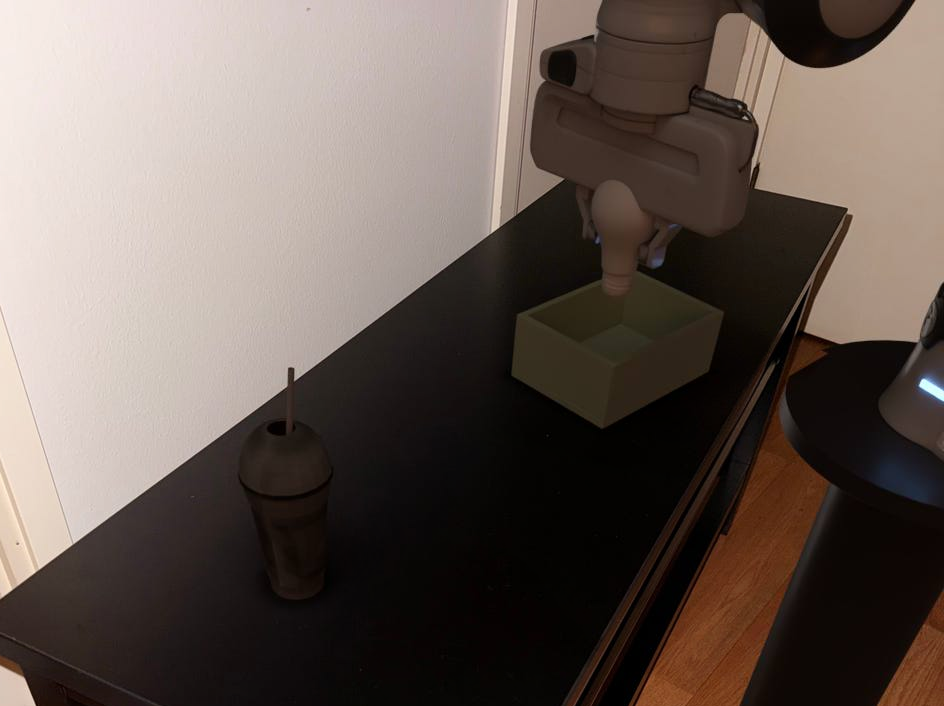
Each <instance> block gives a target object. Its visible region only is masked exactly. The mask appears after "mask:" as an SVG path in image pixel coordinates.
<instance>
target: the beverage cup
mask: <svg viewBox="0 0 944 706" xmlns="http://www.w3.org/2000/svg"><path fill="white" fill-rule="evenodd" d="M295 370H296V369H295V367H293V366H289V367H287V381H286V383H287V385H286V387H287V389H286V418H284V417H283V418H282V417H279V418H273V419H270V420H266V421H264V422H263V423H261V424H259V425H257V427H256V428H253V430H252V431H251V432H250V434H248V436H247V437H246V439H245V440H244V442H243V444H242V446H241V450H240V454H239V459H238V470H237V478H238V481H239V484H240V486H241V487H242V490H243V492H244V495H245V498H246V501H247V502H248V504H249V507H250V510H251V513H252V518H253V522H254V526H255V530H256V534H257V537H258V542H259V545H260V550H261V553H262V554H261V555H262V558H263V561H264V565H265V570H266V573H267V576H268V578H269V580H270V585H271V588H272V590H273V592H275V594H276V595H278V596H279V597H281V598H283V599H287V600H292V601H293V600H295V601H297V600H298V601H299V600H300V601H301V600H304V599H305V600H306V599H309V598H311V597H313V596H315V595H317V594H318V593H319V592H320V591H321V590H322V588H323V587H324V585H325V572H326V564H327V563H326V562H327V561H326V560H327V535H328V534H327V533H328V532H327V531H328V503H329V497H330V492H331V486H332V479H333V477H334V466H333V463H332V461H331V455H330V454H329V451H328V450H329V449H327V447H326V444H325V442H324V440H323V438H322V437H321V436H320V434H319V433H317V432H316V431H315V430H314V429H313V428H311V426H309V425H308V424H305V423H304V422H303V421H302V422H301V421H300V420H297V419H294V405H295V403H294V401H295V372H296V371H295Z"/></svg>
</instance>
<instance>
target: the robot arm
mask: <svg viewBox="0 0 944 706" xmlns="http://www.w3.org/2000/svg"><path fill="white" fill-rule="evenodd" d="M916 1H917V0H601V3H600V6H599V8H598V11H597V14H596V17H595V18H596V19H595V27H594V34H590V35H585V36H582V37H581V38H577V39H572V40H569V41H566V42H562V43H559V44H556V45H552V46H550V47H547V48H544V49H543V50H542V51H541V52H540V56H539V62H538V63H539V65H538V67H539V75H540V77H541V79H542V80H544V81H543V82H542V83H541V84H540V85H539V86H538V88H537V90H536V93H535V97H534V101H533V109H532V117H531V125H530V139H529V153H530V155H531V158H532V160H533V163H534V165H535V167H536V168H537V169H539V170H541V171H543V172H546V173H549V174H550V175H554V176H556V177H558V178H561V179H564V180H566V181H569V182H571V183H574V184H576V187H575V199H576V201H577V205H578V208H579V211H580V214H581V218H582V220H583V224H582V234H581V238H582V239H583V240H585V241H587V242H590V243H592V244H594V245H598V244H599V243H600V239H599V236H598V234H597V231H596V229H595V226H594V223H593V219H592V213H591V205H592V199H593V196H594V193H595V191H596V189H597V188H598V187H599V186H600V185H601V184H602V183H604V182H606V181H607V180H616V181H620V182H622V183H623V184H625V185H626V186H627V187H628V188H629V189H630V191H631V192H632V194H633V196H634V198H635V200H636V202H637V204H638V206H639V208H640V209H641V210H642V211H645V212H647V213H650V214H652V215H655V216H656V218H655V224H654V228H655V229H657V231H658V232H657V233H656V235H655V236H654V237H653V238H651V239H650V240H649V241H648V242H644V243H642V244H640V249H639V253H640V256H639V257H638V264H640V265H642V266H645V267H647V268H648V269H651V270H654V269H656V268H659V267H661V266H662V265H663V263H664V262H665V257H666V251H667V247H668V245H669V244H670V243H671V242H672V240H674V239H675V237H676V236H677V235H678V233H679V232H680V231H681V230H682V229H683V228H685V229H687V230H690V231H692V232H694V233H696V234H699V235H702V236H704V237H707V238H714V237H717V236H719V235H722V234H724V233H726V232H728V231H730V230H732V229H733V228H735V227H736V226H738V224H740V222H741V221H742V220H743V218H744V217H745V213H746V210H747V203H748V199H749V191H750V186H751V185H750V183H751V176H752V167H753V159H754V157H755V152H756V148H757V144H758V140H759V135H760V127H759V123H757V119H756V118H755V116H754V114H753V113H752V112H751V111H750V110H748V108H749V107H748V104H747V103H746V102H744V101H743V100H740V99H738V98H732V97H731V98H729V97H726V96H723V95H721V94H719V93H717V92H715V91H713V90H709V89H706V87H707V86H706V85H707V79H708V76H709V70H710V65H711V60H712V54H713V51H714V44H715V40H716V34H717V28H718V25H719V22H720V20H721V19H722V18H723V17H724V16H726V15H729V14H743V15H745V16H746V17H747V18H748V19H749V20H750V21H752V22H753V23H754V24H756V25H757V26H758V27H759V28H761V29H762V31H763V32H764V33H765V35H766V36H767V37H768V38H769V40H770V41H771V42H772V44H773V45H774V46H775V47H776V49H777V50H778V51H779V52H780V54H782V55H783V56H784V57H785V58H786V59H788V60H789V61H791V62H793V63H795V64H796V65H798V66H802V67H805V68H809V69H828V68H829V69H830V68H835V67H839V66H843V65H846V64H849V63H851V62H853V61H855V60H857V59H859V58H861V57H863V56H865V55H866V54H868V53H870V52H871V51H872V50H873V49H875V48H876V47H877V46H879V45H880V44H881V43H882V42H883V41H884V40H886V39H887V38H888V37H889V35H890V34H892V32H893V31H895V29H896V28H897V27H898V26H899V24H901V22H902V21H903V20H904V18H905V17H906V15H907V14H908V12H909V11H910V10H911V8H912V7H913V5H914V4H915V2H916ZM744 117H745V118H746V119H745V118H744ZM916 342H917V344H916V346H915V348H914V350H913V351H912V353H911V355H910V356H909V358H908V360H907V361H906V363H905V365H904V366H903V368H902V369H901V371H900V372H899V374H898V375H897V376H896V378H895V379H894V381H893V382H892V383H891V385H890V386H889V387H888V388H887V389H886V390H885V392H884V393H883V394H882V395H881V396H880V398H879V402H878V408H879V411H880V414H881V416H882V417H883V419H884V420H885V421H886V422H887V424H888V425H889V426H891V427H892V428H893V429H894V430H895V431H896V432H898V433H899V434H901V435H902V436H904V437H905V438H907V439H909V440H911V441H913V442H915V443H917V444H919V445H921V446H923V447H925V448H927V449H928V450H930V451H931V452H932V453H934V454H935V455H936V456H937V457H938V458H940V459H941V460H942V461H944V281H943V282H942V283H941V284H940V285H939V288H938V290H937V291H936V294H935V296H934V298H933V300H932V301H931V303H930V305H929V307H928V309H927V311H926V314H925V316H924V319H923V322H922V324H921V327H920V331H919V338H918V340H917V341H916Z"/></svg>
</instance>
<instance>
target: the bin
mask: <svg viewBox="0 0 944 706" xmlns="http://www.w3.org/2000/svg"><path fill="white" fill-rule="evenodd" d="M724 315H725V311H723V310H721V309H719V308H717V307H715V306H713V305H710V304H709V303H706V302H704V301H702V300H700V299H698V298H695V297H693V296H691V295H689V294H687V293H685V292H683V291H682V290H678V289H677V288H675V287H673V286H670V285H669V284H666V283H664V282H661V281H660V280H657V279H655V278H653V277H651V276H649V275H648V274H645V273H642V272H641V271H638V270H636V271H635V272H634V273H633V278H632V282H631V287H630V291H629V293H628V294H627V295H625V296H622V297H620V298H619V299H612V298H610V297H609V296H608V295H606V294H605V293H604V292H603V291H602V278H601V279H598V280H596V281H594V282H590V283H589V284H586V285H584V286H581V287H579V288H577V289H575V290H572V291H569V292H566V293H565V294H562V295H560V296H558V297H555V298H552V299H551V300H548V301H546V302H544V303H541V304H539V305H537V306H534V307H531V308H529V309H526V310H525V311H523V312H519V313H517V314H516V321H515V331H514V332H515V333H514V343H513V354H512V362H511V363H512V364H511V376H512V377H513V378H514V379H517V380H518V381H520V382H521V383H523V384H524V385H527V386H528V387H530V388H532V389H534V390H535V391H537V392H539V394H541V395H544V396H545V397H547V398H549V399H551V400H552V401H554V402H555V403H557V404H559V405H560V406H562V407H564V408H566V410H569V411H570V412H573V413H574V414H575V415H578V416H579V417H581V418H582V419H584V420H586V421H587V422H589V423H591V424H593V425H594V426H596V427H598V428H600V430H601V429H602V430H603V429H605V428H607V427H609V426H611V425H613V424H614V423H616V422H618V421H620V420H622V419H624V418H625V417H628V416H630V415H631V414H633V413H634V412H635V413H636V411H639V410H641V409H642V408H644V407H646V406H648V405H649V404H651V403H654V402H655V401H657V400H658V399H659V400H660V398H662V397H664V396H667V395H668V394H670V393H671V392H673V391H675V390H677V389H679V388H681V387H683V386H684V385H686V384H689V383H690V382H692V381H694V380H696V379H697V378H699V377H702V376H703V375H705V374H707V373H709V371H710V368H711V364H712V360H713V356H714V353H715V349H716V345H717V341H718V337H719V334H720V330H721V326H722V322H723V318H724Z"/></svg>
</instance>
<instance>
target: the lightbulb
mask: <svg viewBox="0 0 944 706" xmlns="http://www.w3.org/2000/svg"><path fill="white" fill-rule="evenodd" d="M591 213H592V219H593V223H594V226H595V229H596V231H597V234H598V236H599V239H600V242H599V243H600V249H601V250H600V251H601V263H600V265H601V269H602V275H601V276H602V277H601V279H602V291H603V292H604V293H605V294H606V295H608V296H609V297H610V298H612V299H619V298H620V297H622V296H625V295H627V294H628V293H629V291H630V287H631V282H632V278H633V273H634V272H635V271H637V269H638V266H639V262H638V257H639V256H640V253H639V249H640V244H642V243H644V242H648V241H649V240H651V239H652V237H653V236H654V235H655V233H656V232H657V231H658V229H655V228H654V224H655V218H656V216H655V215H652V214H650V213H647V212H645V211H642V210H641V209H640V208H639V206H638V204H637V202H636V200H635V198H634V196H633V194H632V192H631V191H630V189H629V188H628V187H627V186H626V185H625V184H623V183H622V182H620V181H616V180H607V181H606V182H604V183H602V184H601V185H600V186H599V187H598V188H597V189H596V191H595V193H594V196H593V199H592V205H591Z"/></svg>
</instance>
